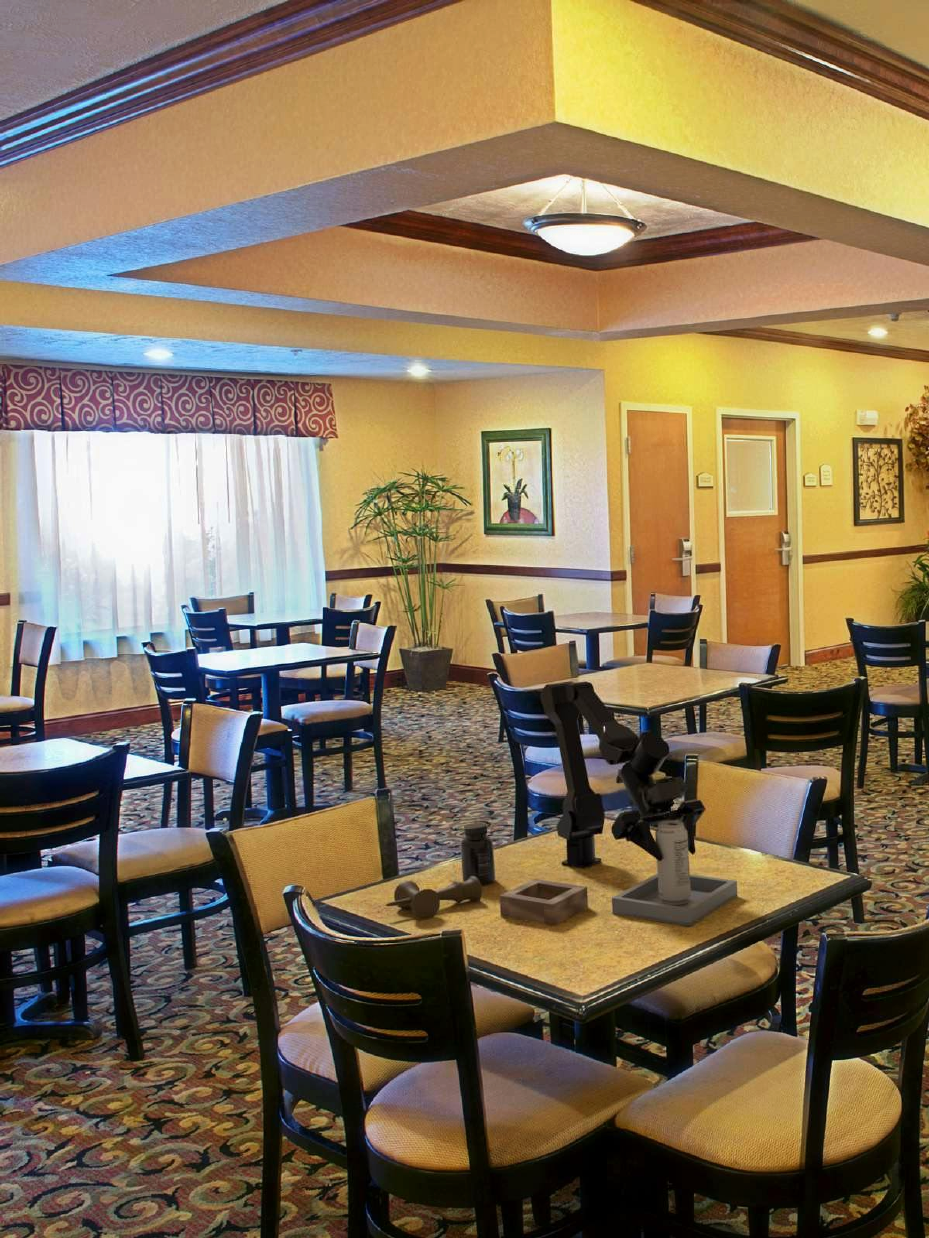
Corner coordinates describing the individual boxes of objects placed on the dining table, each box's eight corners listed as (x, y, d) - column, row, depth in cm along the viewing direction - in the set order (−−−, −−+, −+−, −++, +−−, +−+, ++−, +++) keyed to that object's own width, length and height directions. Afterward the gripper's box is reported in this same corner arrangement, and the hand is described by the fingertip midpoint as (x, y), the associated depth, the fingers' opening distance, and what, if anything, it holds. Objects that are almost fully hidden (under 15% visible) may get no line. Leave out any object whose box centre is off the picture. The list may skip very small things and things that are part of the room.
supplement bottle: (496, 876, 262) (493, 820, 261) (494, 886, 255) (491, 828, 254) (464, 877, 263) (461, 821, 262) (461, 887, 256) (457, 829, 255)
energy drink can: (671, 894, 241) (666, 818, 240) (697, 899, 237) (693, 821, 236) (652, 902, 237) (648, 824, 236) (679, 907, 232) (674, 828, 231)
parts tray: (663, 884, 249) (662, 870, 249) (737, 896, 240) (736, 880, 239) (612, 913, 234) (611, 897, 233) (689, 926, 224) (688, 910, 224)
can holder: (536, 898, 245) (535, 878, 245) (588, 907, 238) (587, 886, 238) (500, 915, 236) (499, 895, 235) (553, 925, 229) (552, 904, 228)
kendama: (490, 908, 243) (397, 926, 234) (467, 897, 251) (376, 914, 242) (489, 878, 243) (395, 894, 233) (466, 868, 251) (375, 884, 242)
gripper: (616, 771, 234) (652, 841, 225) (698, 758, 242) (735, 825, 233) (596, 804, 242) (630, 873, 233) (676, 790, 250) (711, 856, 241)
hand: (677, 856), depth 235 cm, fingers open, 7 cm apart
